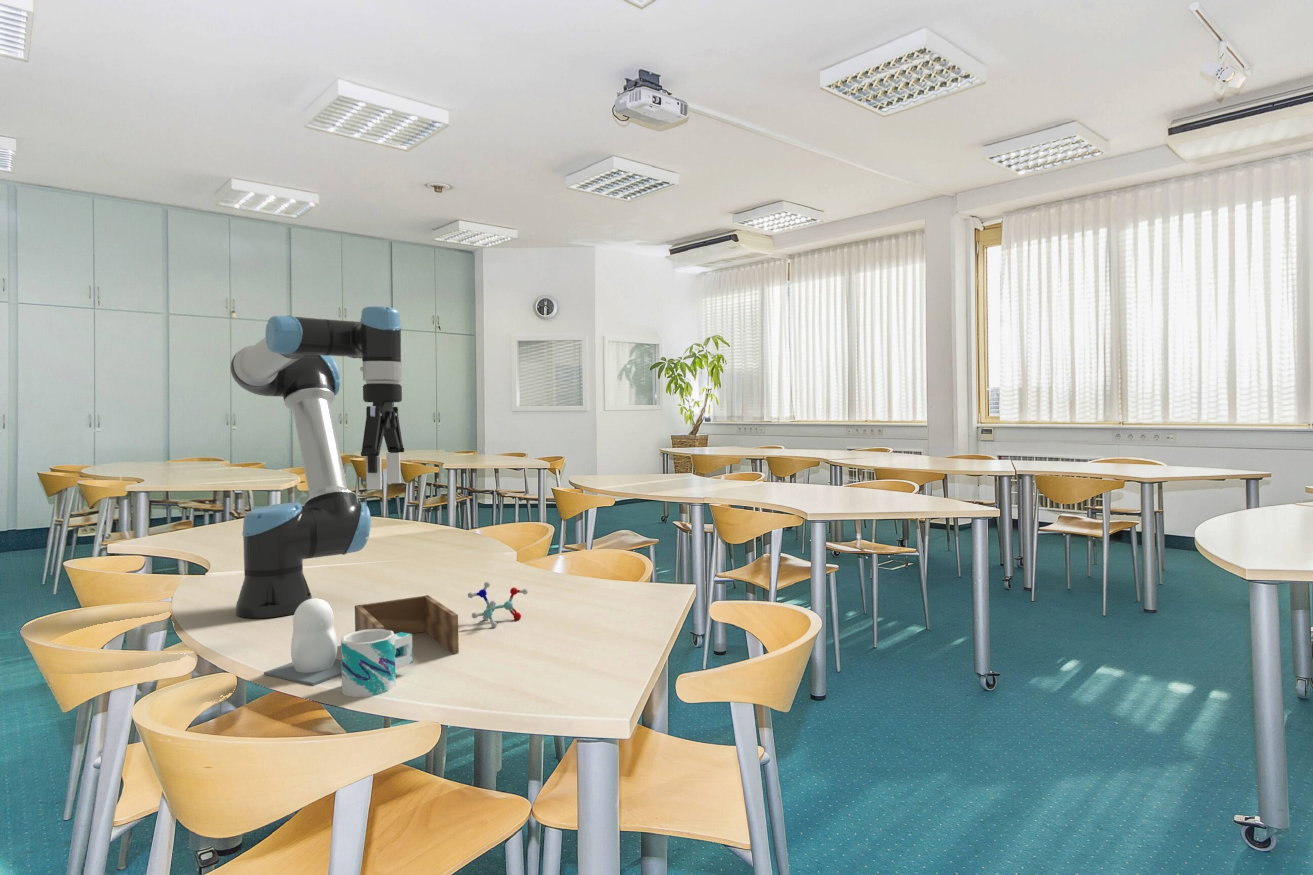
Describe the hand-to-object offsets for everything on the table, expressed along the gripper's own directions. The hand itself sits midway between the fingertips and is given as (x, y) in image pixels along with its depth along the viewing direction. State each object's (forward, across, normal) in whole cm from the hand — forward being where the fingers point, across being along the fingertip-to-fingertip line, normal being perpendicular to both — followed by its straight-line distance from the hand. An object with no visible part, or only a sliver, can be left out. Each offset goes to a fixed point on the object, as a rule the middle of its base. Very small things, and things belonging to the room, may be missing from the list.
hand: (384, 486), depth 154 cm
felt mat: (+29, +28, -4) cm, 40 cm away
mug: (+29, +35, +9) cm, 46 cm away
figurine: (+28, +27, -4) cm, 40 cm away
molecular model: (+29, 0, +22) cm, 36 cm away
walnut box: (+29, +16, +8) cm, 34 cm away
